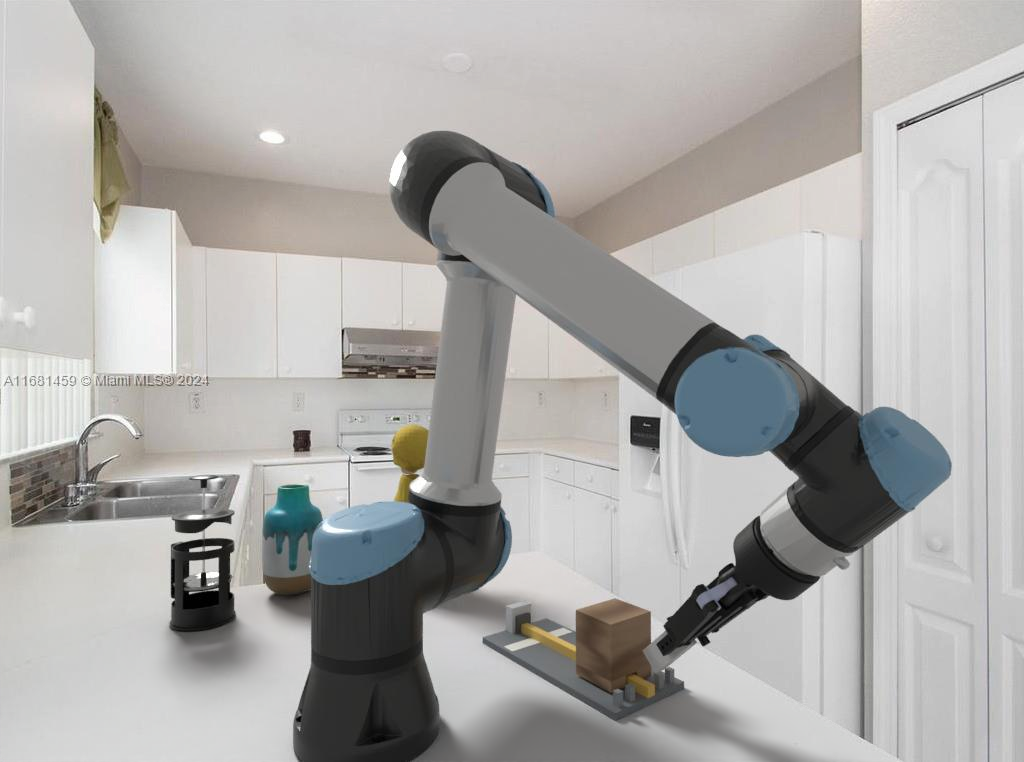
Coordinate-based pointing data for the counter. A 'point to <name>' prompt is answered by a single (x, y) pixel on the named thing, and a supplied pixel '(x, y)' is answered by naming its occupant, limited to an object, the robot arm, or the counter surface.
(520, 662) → the sliding block track
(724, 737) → the counter surface
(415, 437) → the toy
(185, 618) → the french press
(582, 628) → the cardboard box
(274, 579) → the vase
